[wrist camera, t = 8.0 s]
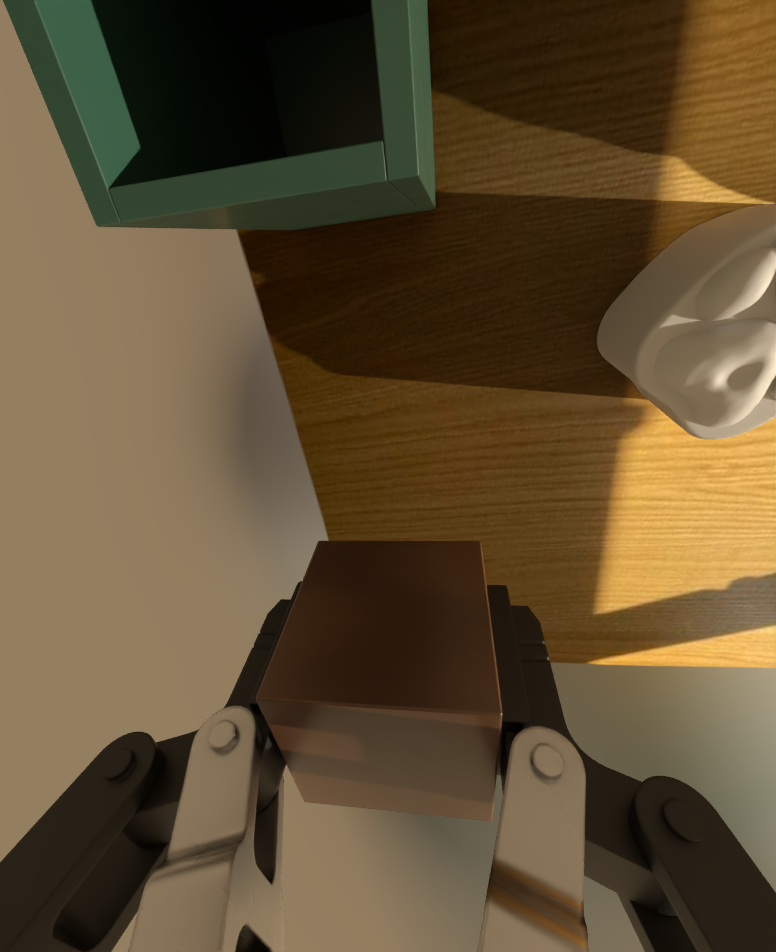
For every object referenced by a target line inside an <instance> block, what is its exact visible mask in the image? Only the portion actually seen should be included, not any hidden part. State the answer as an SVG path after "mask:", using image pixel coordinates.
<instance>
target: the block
mask: <svg viewBox="0 0 776 952" xmlns="http://www.w3.org/2000/svg"><path fill="white" fill-rule="evenodd" d="M256 701H257V703H258V705H259V707H260V709H261V711H262V714H263V716H264V718H265V720H266V722H267V724H268V726H269V728H270V730H271V733H272V735H273V737H274V739H275V741H276V743H277V745H278V747H279V749H280V752H281V754H282V756H283V758H284V760H285V762H286V764H287V766H288V768H289V771H290V772H291V775H292V777H293V779H294V781H295V783H296V785H297V787H298V790H299V791H300V794H301V796H302V798H303V800H304V801H305V802H310V803H320V804H330V805H339V806H348V807H358V808H368V809H377V810H386V811H397V812H406V813H415V814H425V815H434V816H444V817H454V818H464V819H473V820H482V821H492V818H493V808H494V797H495V787H496V776H497V767H498V756H499V746H500V736H501V726H502V715H503V713H502V705H501V697H500V689H499V681H498V673H497V665H496V657H495V649H494V641H493V633H492V626H491V618H490V610H489V602H488V594H487V586H486V578H485V570H484V562H483V554H482V546H481V542H480V541H319V542H318V543H317V546H316V548H315V551H314V553H313V556H312V559H311V561H310V563H309V566H308V568H307V571H306V574H305V576H304V578H303V581H302V583H301V586H300V588H299V591H298V593H297V596H296V598H295V601H294V603H293V606H292V608H291V611H290V613H289V616H288V618H287V621H286V623H285V626H284V628H283V631H282V633H281V636H280V638H279V641H278V643H277V646H276V648H275V651H274V653H273V656H272V658H271V661H270V663H269V666H268V668H267V671H266V674H265V676H264V679H263V681H262V684H261V686H260V689H259V691H258V694H257V696H256Z"/></svg>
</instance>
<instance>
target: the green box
mask: <svg viewBox="0 0 776 952" xmlns="http://www.w3.org/2000/svg"><path fill="white" fill-rule="evenodd" d="M3 1H4V4H5V6H6V9H7V11H8V13H9V16H10V18H11V21H12V23H13V25H14V28H15V30H16V33H17V35H18V37H19V40H20V42H21V45H22V47H23V49H24V52H25V54H26V57H27V59H28V62H29V64H30V66H31V69H32V71H33V74H34V76H35V78H36V81H37V83H38V86H39V88H40V91H41V93H42V95H43V98H44V100H45V103H46V105H47V108H48V110H49V112H50V114H51V117H52V119H53V122H54V124H55V127H56V129H57V132H58V134H59V136H60V139H61V141H62V144H63V146H64V148H65V150H66V153H67V156H68V158H69V160H70V163H71V165H72V168H73V170H74V173H75V175H76V177H77V180H78V182H79V185H80V187H81V190H82V192H83V194H84V197H85V199H86V202H87V204H88V206H89V209H90V211H91V214H92V216H93V218H94V221H95V223H96V225H97V226H98V227H139V228H142V227H143V228H196V229H253V230H298V229H305V228H312V227H319V226H326V225H333V224H340V223H347V222H354V221H361V220H368V219H375V218H382V217H389V216H396V215H403V214H410V213H417V212H424V211H431V210H436V191H435V168H434V144H433V121H432V97H431V74H430V50H429V27H428V4H427V0H3Z"/></svg>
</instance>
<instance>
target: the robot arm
mask: <svg viewBox="0 0 776 952" xmlns="http://www.w3.org/2000/svg"><path fill="white" fill-rule="evenodd" d="M301 583H302V581H301V582H299V583H298V584H297V586H296V589H295V591H294V593H293V596H292V598H291V600H284V599H283V600H282V599H281V600H280V601H279V602H278V603H277V604H276V605H275V607H274V608H273V609H272V610H271V611H270V612H269V613H268V614H267V617H266V619H265V621H264V624H263V626H262V628H261V630H260V634H258V637H257V639H256V641H255V643H254V648H252V650H251V652H250V654H249V656H248V658H247V661H246V663H245V665H244V667H243V669H242V672H241V674H240V676H239V678H238V681H237V683H236V685H235V687H234V690H233V691H232V694H231V696H230V698H229V700H228V702H227V704H226V706H225V707H224V708H223V709H221V710H219V711H218V712H216V713H214V714H213V715H212V716H210V717H209V718H208V719H207V720H206V721H205V722H204V723H203V725H202V726H201V727H200V728H199V729H198V730H197V731H194V732H191V733H188V734H185V735H181V736H178V737H174V738H171V739H167V740H164V741H160V742H157V743H156V742H155V741H154V739H153V738H152V737H151V736H150V735H149V734H147V733H144V732H132V733H128V734H126V735H123V736H122V737H119V738H118V739H116V740H115V741H113V742H112V743H110V744H109V745H108V746H107V747H106V748H104V749H103V750H102V751H101V752H100V754H98V756H97V757H96V758H95V759H94V760H93V761H92V762H91V763H90V764H89V766H88V767H87V768H86V769H85V770H84V771H83V772H82V773H81V774H80V775H79V777H78V778H77V779H76V780H75V781H74V782H73V783H72V784H71V785H70V786H69V787H68V789H67V790H66V791H65V792H64V793H63V794H62V795H61V796H60V797H59V799H58V800H57V801H56V802H55V803H54V804H53V805H52V806H51V807H50V808H49V809H48V811H47V812H46V813H45V814H44V815H43V816H42V817H41V818H40V819H39V820H38V822H37V823H36V824H35V825H34V826H33V827H32V828H31V829H30V831H28V832H27V834H26V835H25V836H24V837H23V838H22V839H21V840H20V841H19V842H18V843H17V845H16V846H15V847H14V848H13V849H12V850H11V851H10V853H8V854H7V856H6V857H5V858H4V859H3V860H2V861H1V862H0V952H111V951H112V950H113V948H114V947H115V945H116V944H117V942H118V940H119V939H120V937H121V936H122V934H123V933H124V931H125V930H126V928H127V927H128V925H129V923H130V922H131V920H132V919H133V917H134V916H135V914H136V913H137V911H138V913H137V917H136V921H135V926H134V930H133V934H132V938H131V942H130V946H129V950H128V952H285V948H286V947H285V946H286V920H285V909H284V901H283V897H282V888H281V865H282V834H283V804H284V778H283V772H284V769H285V765H286V762H285V760H284V758H283V756H282V754H281V752H280V749H279V747H278V745H277V743H276V741H275V739H274V737H273V735H272V733H271V730H270V728H269V726H268V724H267V722H266V720H265V718H264V716H263V714H262V711H261V709H260V707H259V705H258V703H257V701H256V696H257V694H258V691H259V689H260V686H261V684H262V681H263V679H264V676H265V674H266V671H267V668H268V666H269V663H270V661H271V658H272V656H273V653H274V651H275V648H276V646H277V643H278V641H279V638H280V636H281V633H282V631H283V628H284V626H285V623H286V621H287V618H288V616H289V613H290V611H291V608H292V606H293V603H294V601H295V598H296V596H297V593H298V591H299V588H300V586H301ZM486 586H487V594H488V602H489V610H490V618H491V626H492V633H493V641H494V649H495V657H496V665H497V673H498V681H499V689H500V697H501V705H502V713H503V715H502V726H501V736H500V746H499V756H498V767H497V775H501V780H502V790H503V800H502V805H501V812H500V818H499V824H498V831H497V837H496V843H495V849H494V855H493V862H492V867H491V873H490V878H489V884H488V889H487V896H486V901H485V907H484V914H483V920H482V926H481V932H480V938H479V945H478V951H477V952H589V948H588V933H587V926H586V923H585V919H584V908H583V907H584V905H583V899H584V876H586V877H589V878H590V879H592V880H594V881H596V882H598V883H600V884H601V885H603V886H605V887H607V888H609V889H611V890H613V891H614V892H616V893H617V894H618V896H619V898H620V900H621V902H622V905H623V907H624V909H625V911H626V913H627V915H628V917H629V919H630V921H631V923H632V925H633V928H634V930H635V932H636V934H637V936H638V938H639V940H640V942H641V944H642V946H643V949H644V951H645V952H776V893H775V891H774V890H773V888H772V887H771V886H770V884H769V883H768V882H767V880H766V879H765V877H764V876H763V875H762V873H761V872H760V871H759V869H758V868H757V867H756V865H755V864H754V862H753V861H752V859H751V858H750V857H749V855H748V854H747V853H746V851H745V850H744V849H743V847H742V846H741V844H740V843H739V842H738V840H737V839H736V837H735V836H734V835H733V833H732V832H731V830H730V829H729V828H728V826H727V825H726V824H725V822H724V821H723V820H722V818H721V817H720V815H719V814H718V813H717V811H716V810H715V809H714V808H713V806H712V805H711V804H710V803H709V802H708V801H707V800H706V799H705V798H704V797H703V796H702V795H701V794H700V793H698V792H697V791H696V790H695V789H693V788H692V787H690V786H689V785H687V784H685V783H683V782H681V781H679V780H677V779H674V778H671V777H666V776H654V777H650V778H648V779H646V780H645V781H643V782H641V781H638V780H636V779H633V778H631V777H629V776H626V775H624V774H622V773H619V772H617V771H614V770H612V769H609V768H607V767H605V766H603V765H601V764H599V763H598V762H596V761H595V760H593V759H592V758H590V757H589V756H588V755H587V754H585V753H584V752H583V751H582V750H581V749H580V748H579V746H578V745H577V744H576V743H575V741H574V740H573V738H572V737H571V735H570V733H569V731H568V729H567V726H566V723H565V720H564V716H563V712H562V708H561V704H560V700H559V696H558V692H557V688H556V684H555V681H554V676H553V672H552V669H551V664H550V661H549V656H548V653H547V649H546V645H545V641H544V637H543V633H542V629H541V625H540V622H539V621H538V619H537V618H536V617H535V615H534V614H533V612H532V611H531V610H530V608H529V607H528V606H511V605H510V600H509V595H508V589H507V586H506V585H486Z"/></svg>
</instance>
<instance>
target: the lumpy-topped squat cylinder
mask: <svg viewBox="0 0 776 952" xmlns="http://www.w3.org/2000/svg"><path fill="white" fill-rule="evenodd" d="M597 347H598V350H599V352H600V354H601V355H602V357H603V358H604V359H606V360H607V361H608V362H609V363H610V364H612V365H613V366H614V367H615V368H617V369H618V370H619V371H620V372H622V373H623V374H624V375H625V376H627V377H628V378H629V379H630V380H631V381H632V382H633V384H634V385H635V387H636V388H637V389H638V391H639V392H640V393H641V394H642V395H643V396H644V397H646V398H647V399H648V400H649V401H650V402H652V403H653V404H654V405H655V406H656V407H658V408H659V409H660V410H661V411H662V412H664V413H665V414H666V415H667V416H668V417H669V418H671V419H672V420H673V421H674V422H675V423H677V424H678V425H679V426H680V427H682V428H683V429H684V430H685V431H686V432H687V433H689V434H690V435H692V436H694V437H697V438H700V439H722V438H729V437H733V436H737V435H740V434H743V433H746V432H748V431H751V430H753V429H755V428H757V427H759V426H761V425H762V424H764V423H766V422H768V421H770V420H771V419H773V418H775V417H776V204H766V205H755V206H749V207H745V208H742V209H738V210H735V211H732V212H729V213H727V214H724V215H721V216H719V217H716V218H714V219H711V220H709V221H706V222H704V223H702V224H700V225H697V226H695V227H693V228H691V229H690V230H688V231H686V232H685V233H684V234H682V235H681V236H680V237H678V238H677V239H676V240H675V241H674V242H672V243H671V244H670V245H669V246H668V247H667V248H665V249H664V250H663V251H662V252H661V253H660V254H659V255H658V256H657V257H656V258H654V259H653V260H652V261H651V262H650V263H649V264H648V265H647V266H646V267H645V268H644V269H643V270H642V271H641V272H640V273H639V274H638V275H637V276H636V277H635V278H634V279H633V280H632V281H631V283H630V284H629V285H628V286H627V287H626V289H625V290H624V291H623V292H622V293H621V294H620V295H619V296H618V297H617V298H616V300H615V301H614V302H613V303H612V305H611V306H610V307H609V309H608V310H607V312H606V313H605V315H604V317H603V319H602V321H601V323H600V326H599V329H598V334H597Z"/></svg>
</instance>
